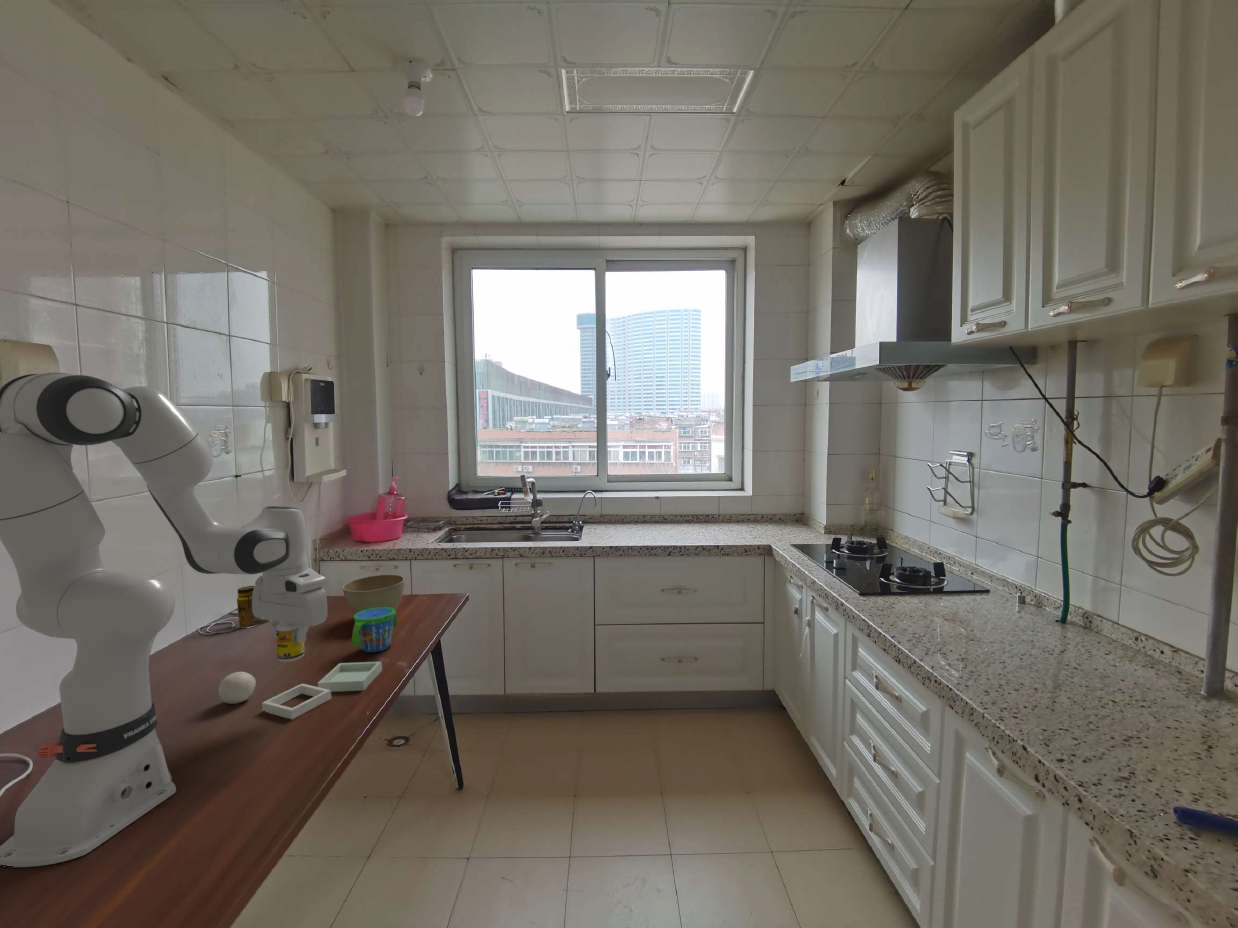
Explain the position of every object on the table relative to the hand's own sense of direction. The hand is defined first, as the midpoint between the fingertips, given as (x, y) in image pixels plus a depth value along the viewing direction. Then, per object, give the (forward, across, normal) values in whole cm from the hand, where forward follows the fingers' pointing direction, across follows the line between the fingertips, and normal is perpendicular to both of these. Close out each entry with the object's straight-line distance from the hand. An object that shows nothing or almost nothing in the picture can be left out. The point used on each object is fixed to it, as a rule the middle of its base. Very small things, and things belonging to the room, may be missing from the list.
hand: (290, 640), depth 125 cm
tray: (+15, +2, +14) cm, 20 cm away
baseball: (+15, -15, -3) cm, 22 cm away
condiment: (+14, -64, +33) cm, 74 cm away
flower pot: (+14, -28, +49) cm, 58 cm away
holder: (+15, 0, +1) cm, 15 cm away
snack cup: (+15, -9, +31) cm, 35 cm away
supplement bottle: (+4, 0, 0) cm, 4 cm away
